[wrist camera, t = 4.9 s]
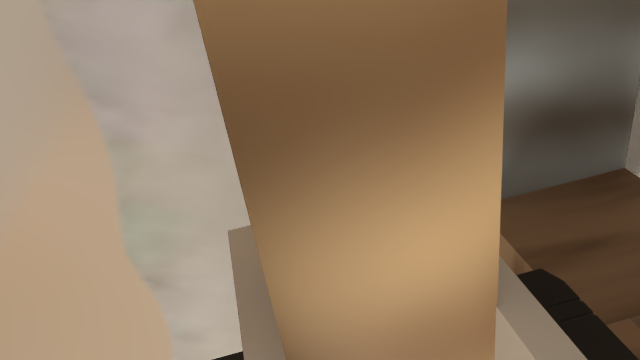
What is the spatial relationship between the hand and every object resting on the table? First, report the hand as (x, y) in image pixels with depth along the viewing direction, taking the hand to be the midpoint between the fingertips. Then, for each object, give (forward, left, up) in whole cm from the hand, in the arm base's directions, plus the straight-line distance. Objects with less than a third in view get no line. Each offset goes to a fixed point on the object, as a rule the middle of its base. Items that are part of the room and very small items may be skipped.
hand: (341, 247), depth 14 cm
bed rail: (0, 0, 0) cm, 0 cm away
